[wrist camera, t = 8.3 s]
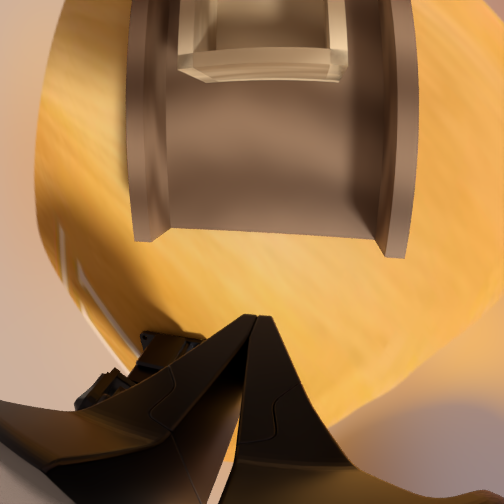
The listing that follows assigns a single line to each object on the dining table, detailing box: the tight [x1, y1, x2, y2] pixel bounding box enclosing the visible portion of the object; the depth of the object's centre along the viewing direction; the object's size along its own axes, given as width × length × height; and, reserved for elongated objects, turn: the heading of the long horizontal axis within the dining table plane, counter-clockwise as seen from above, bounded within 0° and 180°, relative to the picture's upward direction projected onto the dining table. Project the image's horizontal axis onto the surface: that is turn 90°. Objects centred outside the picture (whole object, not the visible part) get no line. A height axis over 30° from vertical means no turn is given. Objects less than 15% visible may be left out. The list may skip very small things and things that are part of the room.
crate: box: [177, 0, 348, 83], centre depth 13 cm, size 7×8×4 cm
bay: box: [126, 0, 419, 259], centre depth 14 cm, size 18×16×6 cm
